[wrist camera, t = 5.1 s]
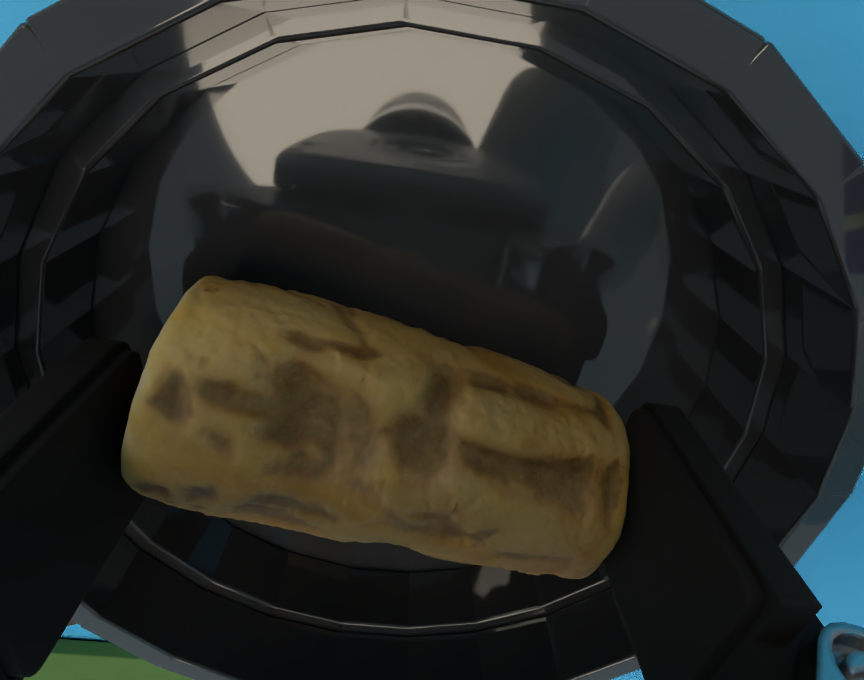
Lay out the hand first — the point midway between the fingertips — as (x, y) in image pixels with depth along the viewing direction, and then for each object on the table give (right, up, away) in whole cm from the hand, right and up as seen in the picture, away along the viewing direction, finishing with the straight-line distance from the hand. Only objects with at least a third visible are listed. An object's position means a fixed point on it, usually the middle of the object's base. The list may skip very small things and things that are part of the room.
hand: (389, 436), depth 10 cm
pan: (0, +1, +2) cm, 2 cm away
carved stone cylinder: (0, +1, +2) cm, 2 cm away
